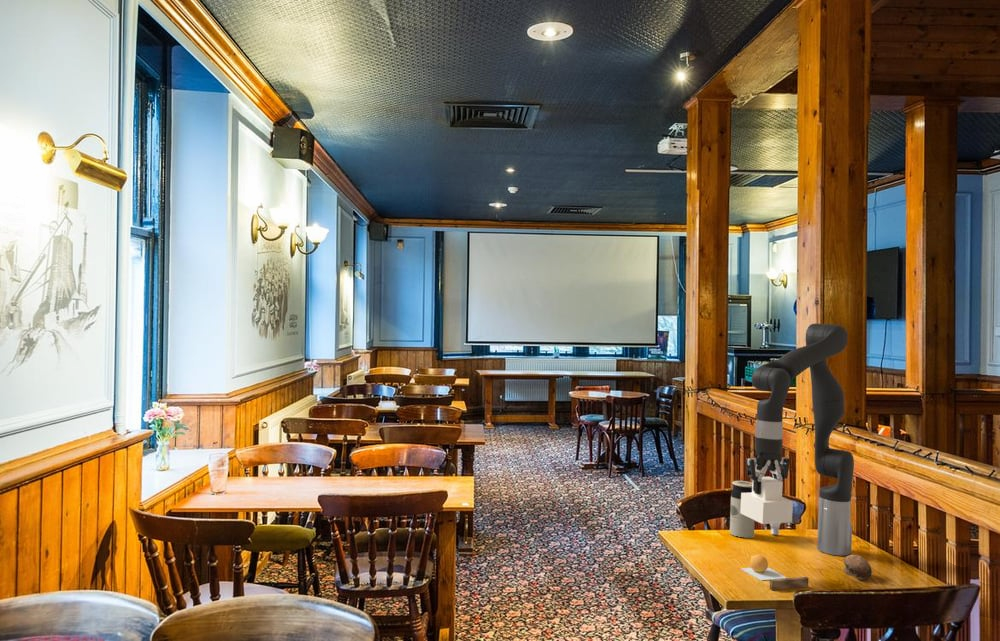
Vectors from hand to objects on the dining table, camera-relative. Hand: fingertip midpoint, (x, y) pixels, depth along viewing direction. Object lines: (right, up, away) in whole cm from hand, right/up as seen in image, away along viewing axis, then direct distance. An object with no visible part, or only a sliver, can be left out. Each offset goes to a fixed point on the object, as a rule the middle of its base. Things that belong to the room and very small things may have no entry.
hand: (766, 493), depth 192 cm
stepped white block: (0, -7, 0) cm, 7 cm away
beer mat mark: (-1, -23, 0) cm, 24 cm away
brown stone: (+27, -25, +1) cm, 37 cm away
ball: (-2, -21, +1) cm, 21 cm away
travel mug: (+6, -24, +36) cm, 44 cm away
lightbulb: (+18, -25, +38) cm, 49 cm away
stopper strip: (+2, -24, -10) cm, 26 cm away
